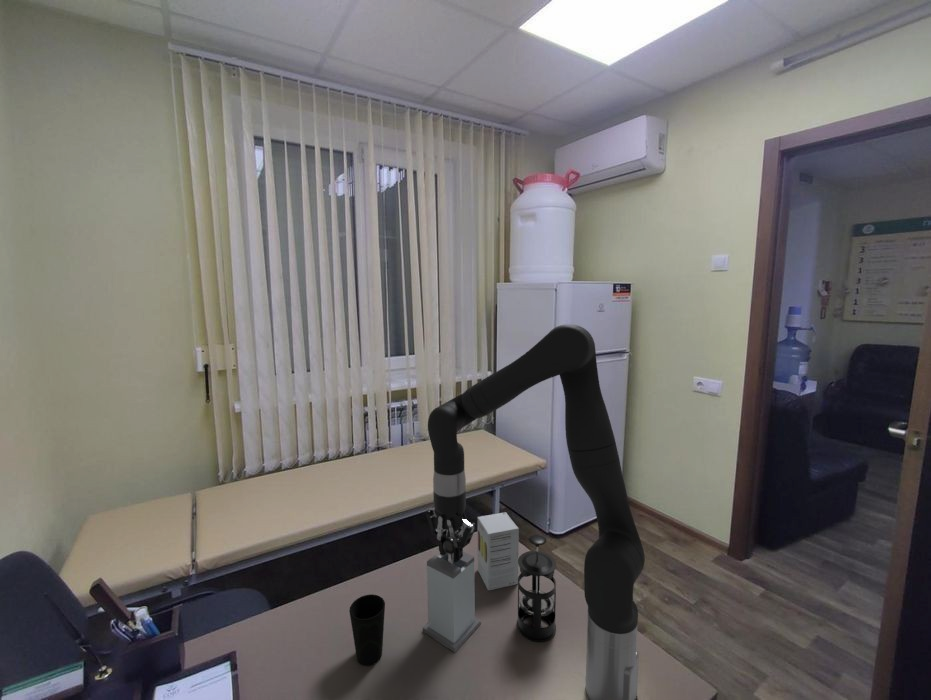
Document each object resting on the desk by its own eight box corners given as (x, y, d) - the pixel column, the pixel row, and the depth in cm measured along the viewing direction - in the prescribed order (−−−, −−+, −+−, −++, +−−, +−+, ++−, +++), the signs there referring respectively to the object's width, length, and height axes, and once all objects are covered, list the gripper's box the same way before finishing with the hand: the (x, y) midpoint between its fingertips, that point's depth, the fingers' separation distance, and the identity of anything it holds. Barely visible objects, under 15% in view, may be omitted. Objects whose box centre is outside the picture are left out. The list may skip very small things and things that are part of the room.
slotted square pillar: (480, 624, 100) (480, 556, 98) (455, 652, 93) (454, 579, 90) (449, 606, 106) (447, 541, 104) (422, 631, 99) (420, 561, 96)
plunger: (468, 601, 99) (467, 536, 97) (453, 615, 95) (452, 548, 93) (449, 591, 103) (448, 528, 101) (434, 604, 98) (432, 539, 96)
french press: (557, 646, 94) (559, 553, 91) (516, 642, 95) (517, 550, 92) (553, 608, 105) (555, 524, 102) (517, 605, 107) (517, 522, 104)
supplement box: (476, 569, 121) (476, 516, 119) (505, 563, 123) (505, 510, 121) (488, 591, 112) (488, 533, 109) (519, 584, 114) (519, 527, 112)
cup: (351, 674, 87) (349, 623, 86) (351, 645, 95) (349, 597, 93) (388, 665, 89) (386, 615, 88) (385, 637, 97) (383, 591, 95)
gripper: (483, 489, 94) (484, 559, 96) (437, 474, 102) (438, 538, 104) (463, 503, 88) (464, 577, 90) (416, 485, 96) (417, 553, 98)
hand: (450, 556), depth 97 cm, fingers closed on plunger, 3 cm apart
